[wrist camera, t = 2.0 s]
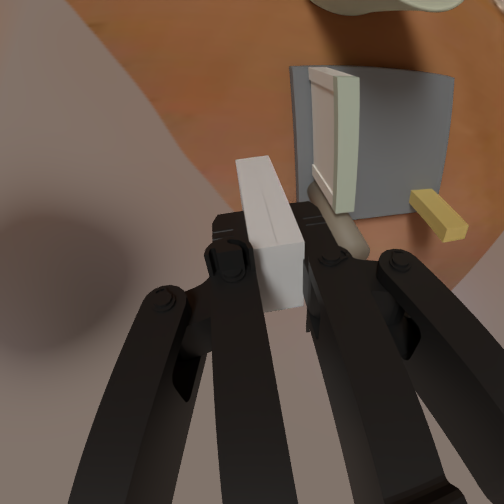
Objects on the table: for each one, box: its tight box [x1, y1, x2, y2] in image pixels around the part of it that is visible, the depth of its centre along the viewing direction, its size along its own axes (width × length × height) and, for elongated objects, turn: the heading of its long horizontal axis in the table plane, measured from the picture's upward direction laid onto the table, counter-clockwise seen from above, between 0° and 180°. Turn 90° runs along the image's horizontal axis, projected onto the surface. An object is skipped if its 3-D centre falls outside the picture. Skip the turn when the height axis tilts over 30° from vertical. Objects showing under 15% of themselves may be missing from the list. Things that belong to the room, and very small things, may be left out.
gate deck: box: [289, 65, 469, 260], centre depth 23 cm, size 17×16×11 cm
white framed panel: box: [308, 67, 360, 214], centre depth 22 cm, size 10×2×7 cm, turn 6°
